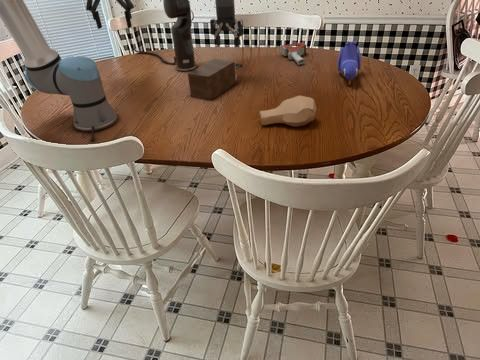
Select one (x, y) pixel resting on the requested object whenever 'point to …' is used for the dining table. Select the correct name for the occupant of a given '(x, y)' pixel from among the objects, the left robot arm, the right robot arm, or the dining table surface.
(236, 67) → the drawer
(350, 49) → the toy
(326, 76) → the dining table surface
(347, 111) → the dining table surface
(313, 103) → the squash
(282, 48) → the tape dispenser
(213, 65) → the dark brown box
